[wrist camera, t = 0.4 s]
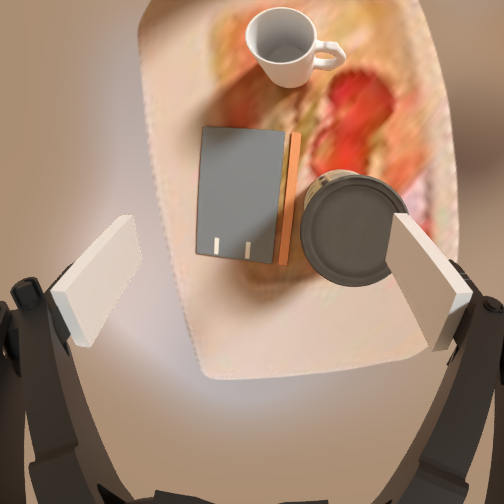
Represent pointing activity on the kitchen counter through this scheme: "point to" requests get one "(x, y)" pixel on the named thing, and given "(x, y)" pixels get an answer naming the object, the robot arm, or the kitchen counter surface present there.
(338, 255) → the coffee can
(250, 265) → the kitchen counter surface
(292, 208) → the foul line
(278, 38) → the mug
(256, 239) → the mat
